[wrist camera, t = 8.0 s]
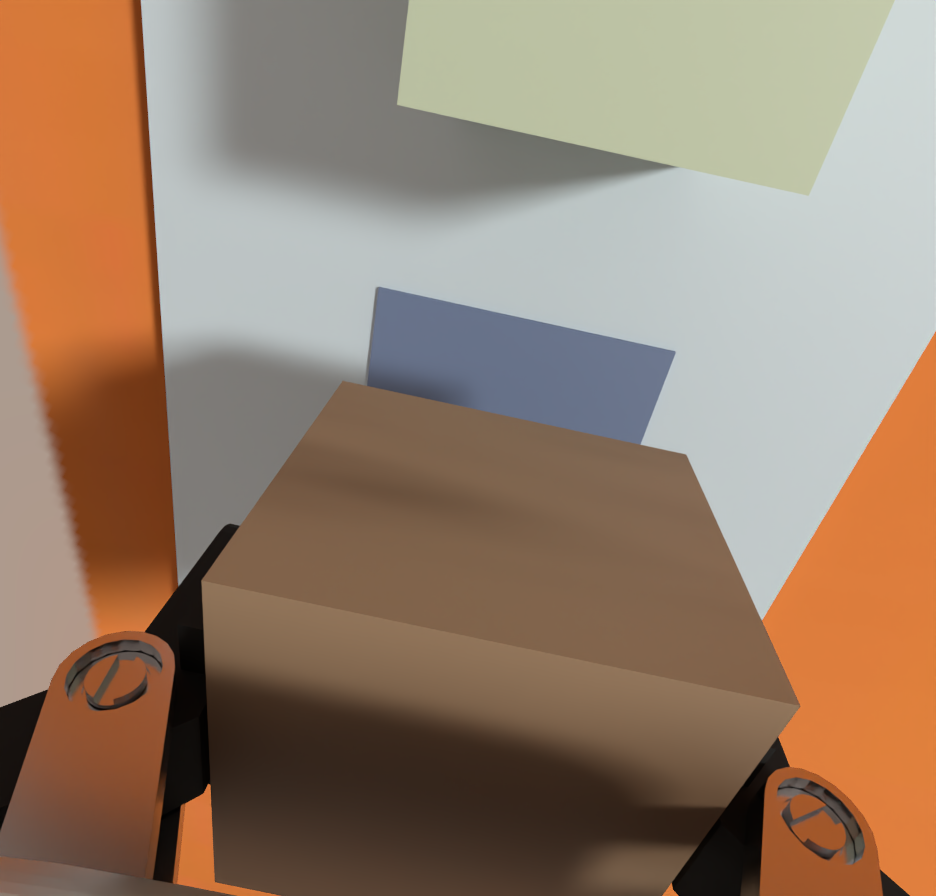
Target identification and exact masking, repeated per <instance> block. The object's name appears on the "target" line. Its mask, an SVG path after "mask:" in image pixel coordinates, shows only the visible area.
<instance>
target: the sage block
mask: <svg viewBox="0 0 936 896" xmlns="http://www.w3.org/2000/svg"><path fill="white" fill-rule="evenodd" d="M894 1H895V0H409V5H408V13H407V22H406V31H405V39H404V48H403V57H402V65H401V74H400V83H399V91H398V100H397V105H400V106H404V107H409V108H414V109H418V110H423V111H427V112H432V113H436V114H441V115H445V116H450V117H454V118H459V119H463V120H468V121H472V122H477V123H481V124H486V125H490V126H495V127H500V128H504V129H509V130H513V131H518V132H522V133H527V134H531V135H536V136H540V137H545V138H549V139H554V140H558V141H563V142H567V143H572V144H576V145H581V146H586V147H590V148H595V149H599V150H604V151H608V152H613V153H617V154H622V155H626V156H631V157H635V158H640V159H644V160H649V161H653V162H658V163H662V164H667V165H671V166H676V167H681V168H685V169H690V170H694V171H699V172H703V173H708V174H712V175H717V176H721V177H726V178H730V179H735V180H739V181H744V182H748V183H753V184H757V185H762V186H767V187H771V188H776V189H780V190H785V191H789V192H794V193H798V194H803V195H807V196H809V194H810V192H811V189H812V187H813V185H814V183H815V180H816V178H817V176H818V174H819V171H820V169H821V167H822V164H823V162H824V160H825V158H826V155H827V153H828V151H829V149H830V146H831V144H832V142H833V140H834V137H835V135H836V133H837V130H838V128H839V126H840V124H841V121H842V119H843V117H844V115H845V112H846V110H847V108H848V105H849V103H850V101H851V99H852V96H853V94H854V92H855V90H856V87H857V85H858V83H859V80H860V78H861V76H862V74H863V71H864V69H865V67H866V65H867V62H868V60H869V58H870V56H871V53H872V51H873V49H874V46H875V44H876V42H877V40H878V37H879V35H880V33H881V31H882V28H883V26H884V24H885V21H886V19H887V17H888V15H889V12H890V10H891V8H892V6H893V3H894Z"/></svg>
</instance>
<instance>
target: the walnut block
mask: <svg viewBox="0 0 936 896" xmlns="http://www.w3.org/2000/svg"><path fill="white" fill-rule="evenodd" d="M201 582H202V604H203V626H204V649H205V671H206V693H207V715H208V738H209V760H210V782H211V805H212V827H213V849H214V872H215V882H217V883H222V884H227V885H232V886H237V887H242V888H247V889H252V890H256V891H261V892H266V893H271V894H276V895H281V896H662V895H663V894H664V892H665V891H666V889H667V888H668V887H669V885H670V884H671V883H672V881H673V880H674V879H675V877H676V876H677V874H678V873H679V872H680V870H681V869H682V868H683V866H684V865H685V863H686V862H687V861H688V859H689V858H690V857H691V855H692V854H693V853H694V851H695V850H696V848H697V847H698V846H699V844H700V843H701V842H702V840H703V839H704V837H705V836H706V835H707V833H708V832H709V831H710V829H711V828H712V826H713V825H714V824H715V822H716V821H717V820H718V818H719V817H720V816H721V814H722V813H723V811H724V810H725V809H726V807H727V806H728V805H729V803H730V802H731V800H732V799H733V798H734V796H735V795H736V794H737V792H738V791H739V790H740V788H741V787H742V785H743V784H744V783H745V781H746V780H747V779H748V777H749V776H750V774H751V773H752V772H753V770H754V769H755V768H756V766H757V765H758V763H759V762H760V761H761V759H762V758H763V757H764V755H765V754H766V753H767V751H768V750H769V748H770V747H771V746H772V744H773V743H774V742H775V740H776V739H777V737H778V736H779V735H780V733H781V732H782V731H783V729H784V728H785V727H786V725H787V724H788V722H789V721H790V720H791V718H792V717H793V716H794V714H795V713H796V711H797V710H798V709H799V707H800V704H799V702H798V700H797V697H796V695H795V693H794V691H793V689H792V686H791V684H790V682H789V680H788V678H787V675H786V673H785V671H784V669H783V667H782V664H781V662H780V660H779V658H778V656H777V653H776V651H775V649H774V647H773V644H772V642H771V640H770V638H769V636H768V633H767V631H766V629H765V627H764V625H763V622H762V620H761V618H760V616H759V614H758V611H757V609H756V607H755V605H754V603H753V600H752V598H751V596H750V594H749V592H748V589H747V587H746V585H745V583H744V581H743V578H742V576H741V574H740V572H739V570H738V567H737V565H736V563H735V561H734V559H733V556H732V554H731V552H730V550H729V548H728V545H727V543H726V541H725V539H724V537H723V534H722V532H721V530H720V528H719V526H718V523H717V521H716V519H715V517H714V514H713V512H712V510H711V508H710V506H709V503H708V501H707V499H706V497H705V495H704V492H703V490H702V488H701V486H700V484H699V481H698V479H697V477H696V475H695V473H694V470H693V468H692V466H691V464H690V462H689V459H688V457H687V455H686V454H682V453H677V452H672V451H668V450H663V449H658V448H654V447H649V446H645V445H640V444H635V443H631V442H626V441H621V440H617V439H612V438H607V437H603V436H598V435H593V434H589V433H584V432H579V431H575V430H570V429H565V428H561V427H556V426H551V425H547V424H542V423H537V422H533V421H528V420H523V419H519V418H514V417H509V416H505V415H500V414H495V413H491V412H486V411H481V410H477V409H472V408H467V407H463V406H458V405H453V404H449V403H444V402H439V401H435V400H430V399H425V398H421V397H416V396H412V395H407V394H402V393H398V392H393V391H388V390H384V389H379V388H374V387H370V386H365V385H360V384H356V383H351V382H346V381H342V383H341V384H340V385H339V387H338V388H337V390H336V391H335V392H334V394H333V395H332V397H331V398H330V399H329V401H328V402H327V404H326V405H325V407H324V408H323V409H322V411H321V412H320V414H319V415H318V416H317V418H316V419H315V421H314V422H313V424H312V425H311V426H310V428H309V429H308V431H307V432H306V433H305V435H304V436H303V438H302V439H301V440H300V442H299V443H298V445H297V446H296V448H295V449H294V450H293V452H292V453H291V455H290V456H289V457H288V459H287V460H286V462H285V463H284V465H283V466H282V467H281V469H280V470H279V472H278V473H277V474H276V476H275V477H274V479H273V480H272V481H271V483H270V484H269V486H268V487H267V489H266V490H265V491H264V493H263V494H262V496H261V497H260V498H259V500H258V501H257V503H256V504H255V506H254V507H253V508H252V510H251V511H250V513H249V514H248V515H247V517H246V518H245V520H244V521H243V522H242V524H241V525H240V527H239V528H238V530H237V531H236V532H235V534H234V535H233V537H232V538H231V539H230V541H229V542H228V544H227V545H226V547H225V548H224V549H223V551H222V552H221V554H220V555H219V556H218V558H217V559H216V561H215V562H214V563H213V565H212V566H211V568H210V569H209V571H208V572H207V573H206V575H205V576H204V578H203V579H202V580H201Z"/></svg>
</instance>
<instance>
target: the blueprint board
mask: <svg viewBox="0 0 936 896" xmlns="http://www.w3.org/2000/svg"><path fill="white" fill-rule="evenodd" d="M408 5H409V0H141V10H142V26H143V42H144V57H145V73H146V89H147V104H148V120H149V136H150V151H151V167H152V182H153V198H154V214H155V229H156V245H157V261H158V276H159V292H160V308H161V323H162V339H163V354H164V370H165V386H166V401H167V417H168V433H169V448H170V464H171V479H172V495H173V511H174V526H175V542H176V558H177V573H178V587H179V585H180V584H181V583H182V581H183V580H184V579H185V577H186V576H187V575H188V573H189V572H190V571H191V569H192V568H193V566H194V565H195V564H196V562H197V561H198V560H199V558H200V557H201V556H202V554H203V553H204V552H205V550H206V549H207V548H208V546H209V545H210V544H211V542H212V541H213V540H214V538H215V537H216V536H217V534H218V533H219V532H220V530H221V529H222V528H223V527H224V526H225V525H227V524H234V525H239V526H240V525H241V524H242V522H243V521H244V520H245V518H246V517H247V515H248V514H249V513H250V511H251V510H252V508H253V507H254V506H255V504H256V503H257V501H258V500H259V498H260V497H261V496H262V494H263V493H264V491H265V490H266V489H267V487H268V486H269V484H270V483H271V481H272V480H273V479H274V477H275V476H276V474H277V473H278V472H279V470H280V469H281V467H282V466H283V465H284V463H285V462H286V460H287V459H288V457H289V456H290V455H291V453H292V452H293V450H294V449H295V448H296V446H297V445H298V443H299V442H300V440H301V439H302V438H303V436H304V435H305V433H306V432H307V431H308V429H309V428H310V426H311V425H312V424H313V422H314V421H315V419H316V418H317V416H318V415H319V414H320V412H321V411H322V409H323V408H324V407H325V405H326V404H327V402H328V401H329V399H330V398H331V397H332V395H333V394H334V392H335V391H336V390H337V388H338V387H339V385H340V384H341V383H342V381H346V382H351V383H356V384H360V385H365V386H370V387H374V388H379V389H384V390H388V391H393V392H398V393H402V394H407V395H412V396H416V397H421V398H425V399H430V400H435V401H439V402H444V403H449V404H453V405H458V406H463V407H467V408H472V409H477V410H481V411H486V412H491V413H495V414H500V415H505V416H509V417H514V418H519V419H523V420H528V421H533V422H537V423H542V424H547V425H551V426H556V427H561V428H565V429H570V430H575V431H579V432H584V433H589V434H593V435H598V436H603V437H607V438H612V439H617V440H621V441H626V442H631V443H635V444H640V445H645V446H649V447H654V448H658V449H663V450H668V451H672V452H677V453H682V454H686V455H687V457H688V459H689V462H690V464H691V466H692V468H693V470H694V473H695V475H696V477H697V479H698V481H699V484H700V486H701V488H702V490H703V492H704V495H705V497H706V499H707V501H708V503H709V506H710V508H711V510H712V512H713V514H714V517H715V519H716V521H717V523H718V526H719V528H720V530H721V532H722V534H723V537H724V539H725V541H726V543H727V545H728V548H729V550H730V552H731V554H732V556H733V559H734V561H735V563H736V565H737V567H738V570H739V572H740V574H741V576H742V578H743V581H744V583H745V585H746V587H747V589H748V592H749V594H750V596H751V598H752V600H753V603H754V605H755V607H756V609H757V611H758V614H759V616H760V618H761V620H762V619H763V618H764V616H765V614H766V613H767V611H768V609H769V608H770V606H771V604H772V603H773V601H774V599H775V598H776V596H777V594H778V593H779V591H780V589H781V588H782V586H783V584H784V583H785V581H786V579H787V578H788V576H789V574H790V573H791V571H792V569H793V568H794V566H795V564H796V563H797V561H798V559H799V558H800V556H801V554H802V553H803V551H804V549H805V548H806V546H807V544H808V543H809V541H810V539H811V538H812V536H813V534H814V533H815V531H816V529H817V528H818V526H819V524H820V523H821V521H822V519H823V518H824V516H825V514H826V513H827V511H828V509H829V508H830V506H831V504H832V503H833V501H834V499H835V498H836V496H837V494H838V493H839V491H840V489H841V488H842V486H843V484H844V483H845V481H846V479H847V478H848V476H849V474H850V473H851V471H852V469H853V468H854V466H855V464H856V463H857V461H858V460H859V458H860V456H861V455H862V453H863V451H864V450H865V448H866V446H867V445H868V443H869V441H870V440H871V438H872V436H873V435H874V433H875V431H876V430H877V428H878V426H879V425H880V423H881V421H882V420H883V418H884V416H885V415H886V413H887V411H888V410H889V408H890V406H891V405H892V403H893V401H894V400H895V398H896V396H897V395H898V393H899V391H900V390H901V388H902V386H903V385H904V383H905V381H906V380H907V378H908V376H909V375H910V373H911V371H912V370H913V368H914V366H915V365H916V363H917V361H918V360H919V358H920V356H921V355H922V353H923V351H924V350H925V348H926V346H927V345H928V343H929V341H930V340H931V338H932V336H933V335H934V333H935V331H936V0H895V1H894V3H893V6H892V8H891V10H890V12H889V15H888V17H887V19H886V21H885V24H884V26H883V28H882V31H881V33H880V35H879V37H878V40H877V42H876V44H875V46H874V49H873V51H872V53H871V56H870V58H869V60H868V62H867V65H866V67H865V69H864V71H863V74H862V76H861V78H860V80H859V83H858V85H857V87H856V90H855V92H854V94H853V96H852V99H851V101H850V103H849V105H848V108H847V110H846V112H845V115H844V117H843V119H842V121H841V124H840V126H839V128H838V130H837V133H836V135H835V137H834V140H833V142H832V144H831V146H830V149H829V151H828V153H827V155H826V158H825V160H824V162H823V164H822V167H821V169H820V171H819V174H818V176H817V178H816V180H815V183H814V185H813V187H812V189H811V192H810V194H809V196H807V195H803V194H798V193H794V192H789V191H785V190H780V189H776V188H771V187H767V186H762V185H757V184H753V183H748V182H744V181H739V180H735V179H730V178H726V177H721V176H717V175H712V174H708V173H703V172H699V171H694V170H690V169H685V168H681V167H676V166H671V165H667V164H662V163H658V162H653V161H649V160H644V159H640V158H635V157H631V156H626V155H622V154H617V153H613V152H608V151H604V150H599V149H595V148H590V147H586V146H581V145H576V144H572V143H567V142H563V141H558V140H554V139H549V138H545V137H540V136H536V135H531V134H527V133H522V132H518V131H513V130H509V129H504V128H500V127H495V126H490V125H486V124H481V123H477V122H472V121H468V120H463V119H459V118H454V117H450V116H445V115H441V114H436V113H432V112H427V111H423V110H418V109H414V108H409V107H404V106H400V105H397V100H398V91H399V83H400V74H401V65H402V57H403V48H404V39H405V31H406V22H407V13H408Z"/></svg>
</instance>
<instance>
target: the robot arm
mask: <svg viewBox="0 0 936 896" xmlns="http://www.w3.org/2000/svg"><path fill="white" fill-rule="evenodd" d="M239 527H240V526H239V525H234V524H227V525H225V526H224V527H223V528H222V529H221V530H220V532H219V533H218V534H217V536H216V537H215V538H214V540H213V541H212V542H211V544H210V545H209V546H208V548H207V549H206V550H205V552H204V553H203V554H202V556H201V557H200V558H199V560H198V561H197V562H196V564H195V565H194V566H193V568H192V569H191V571H190V572H189V573H188V575H187V576H186V577H185V579H184V580H183V581H182V583H181V584H180V585H179V587H178V588H177V589H176V591H175V592H174V593H173V595H172V596H171V597H170V599H169V600H168V601H167V603H166V604H165V605H164V607H163V608H162V609H161V611H160V612H159V613H158V615H157V616H156V617H155V619H154V620H153V622H152V623H151V624H150V626H149V627H148V628H147V630H146V631H145V632H136V631H123V632H118V633H112V634H107V635H104V636H102V637H99V638H97V639H94V640H91V641H89V642H87V643H86V644H84V645H83V646H81V647H79V648H78V649H76V650H75V651H73V652H72V653H71V654H70V655H69V656H68V657H67V658H66V659H65V660H64V661H63V662H62V663H61V664H60V665H59V667H58V669H57V671H56V673H55V674H54V676H53V678H52V680H51V683H50V686H49V689H48V690H45V691H43V692H40V693H37V694H35V695H32V696H29V697H27V698H24V699H21V700H19V701H16V702H13V703H11V704H8V705H5V706H3V707H0V896H235V895H229V894H224V893H219V892H214V891H209V890H204V889H199V888H194V887H189V886H184V885H179V884H177V880H178V870H179V861H180V851H181V841H182V832H183V822H184V812H185V803H187V802H188V801H190V800H192V799H194V798H196V797H198V796H200V795H201V794H203V793H204V791H205V789H206V787H207V785H208V784H211V782H210V760H209V738H208V715H207V693H206V671H205V649H204V626H203V604H202V582H201V580H202V579H203V578H204V576H205V575H206V573H207V572H208V571H209V569H210V568H211V566H212V565H213V563H214V562H215V561H216V559H217V558H218V556H219V555H220V554H221V552H222V551H223V549H224V548H225V547H226V545H227V544H228V542H229V541H230V539H231V538H232V537H233V535H234V534H235V532H236V531H237V530H238V528H239ZM672 886H673V890H674V891H675V892H676V893H677V894H678V895H679V896H910V895H908V894H907V893H906V892H905V891H904V890H903V889H902V888H900V887H899V886H898V885H897V884H896V883H895V882H894V881H893V880H891V879H890V878H889V877H888V876H887V875H886V874H885V873H883V872H882V871H881V870H880V867H879V859H878V850H877V846H876V843H875V839H874V835H873V832H872V831H871V829H870V827H869V825H868V823H867V821H866V820H865V818H864V816H863V815H862V813H861V812H860V811H859V810H858V808H857V807H856V806H855V805H854V804H853V802H852V801H851V800H850V799H849V798H848V797H847V796H846V795H845V794H844V793H842V792H841V791H840V790H839V789H838V788H837V787H836V786H835V785H833V784H831V783H830V782H828V781H827V780H825V779H824V778H822V777H820V776H819V775H817V774H814V773H812V772H809V771H807V770H804V769H800V768H792V767H790V766H789V764H788V761H787V758H786V756H785V753H784V751H783V748H782V746H781V743H780V741H779V738H778V737H777V739H776V740H775V742H774V743H773V744H772V746H771V747H770V748H769V750H768V751H767V753H766V754H765V755H764V757H763V758H762V759H761V761H760V762H759V763H758V765H757V766H756V768H755V769H754V770H753V772H752V773H751V774H750V776H749V777H748V779H747V780H746V781H745V783H744V784H743V785H742V787H741V788H740V790H739V791H738V792H737V794H736V795H735V796H734V798H733V799H732V800H731V802H730V803H729V805H728V806H727V807H726V809H725V810H724V811H723V813H722V814H721V816H720V817H719V818H718V820H717V821H716V822H715V824H714V825H713V826H712V828H711V829H710V831H709V832H708V833H707V835H706V836H705V837H704V839H703V840H702V842H701V843H700V844H699V846H698V847H697V848H696V850H695V851H694V853H693V854H692V855H691V857H690V858H689V859H688V861H687V862H686V863H685V865H684V866H683V868H682V869H681V870H680V872H679V873H678V874H677V876H676V877H675V879H674V880H673V881H672Z"/></svg>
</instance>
